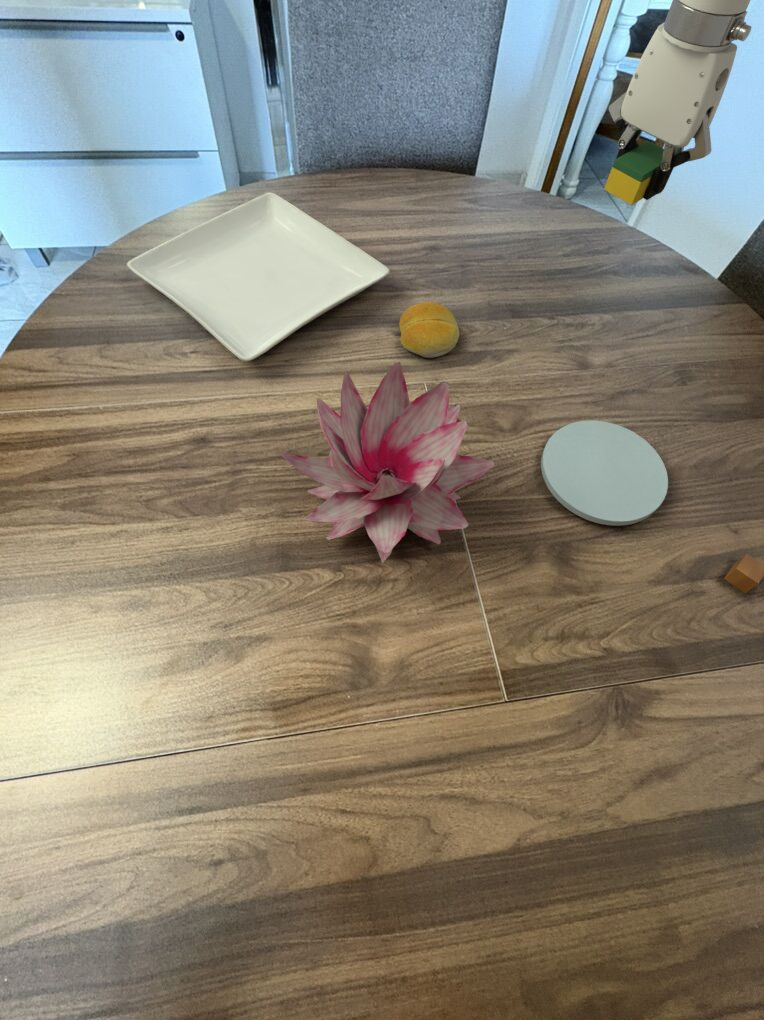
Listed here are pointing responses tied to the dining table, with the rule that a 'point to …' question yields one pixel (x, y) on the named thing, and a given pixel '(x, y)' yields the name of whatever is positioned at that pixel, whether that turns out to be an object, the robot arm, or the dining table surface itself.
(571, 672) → the dining table surface
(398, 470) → the decorative flower
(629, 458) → the plate
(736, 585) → the small brown block
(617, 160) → the sponge
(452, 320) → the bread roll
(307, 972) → the dining table surface
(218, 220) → the square plate
